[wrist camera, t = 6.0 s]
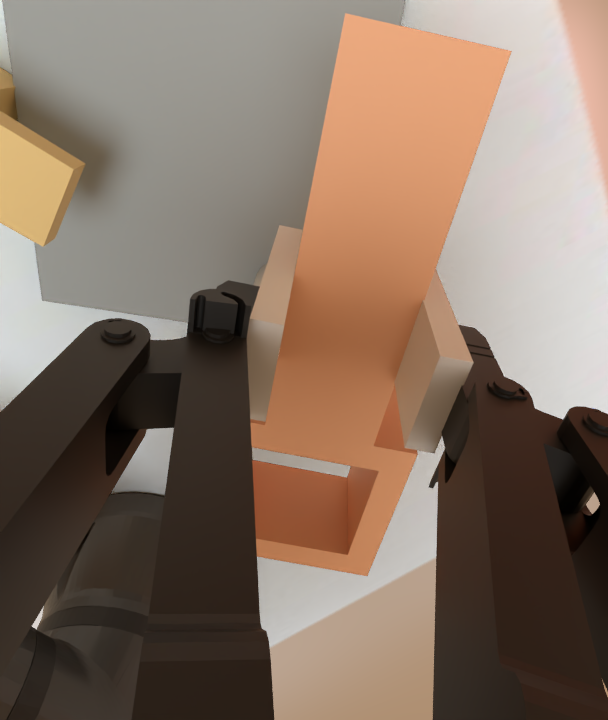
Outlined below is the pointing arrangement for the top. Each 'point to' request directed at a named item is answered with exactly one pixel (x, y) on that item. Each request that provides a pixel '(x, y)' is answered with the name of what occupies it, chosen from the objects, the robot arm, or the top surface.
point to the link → (365, 284)
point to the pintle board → (163, 139)
